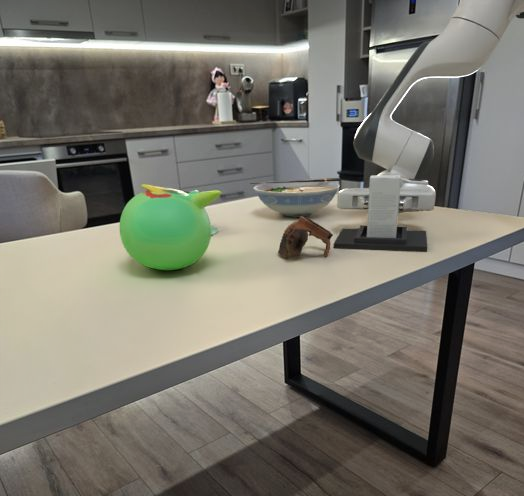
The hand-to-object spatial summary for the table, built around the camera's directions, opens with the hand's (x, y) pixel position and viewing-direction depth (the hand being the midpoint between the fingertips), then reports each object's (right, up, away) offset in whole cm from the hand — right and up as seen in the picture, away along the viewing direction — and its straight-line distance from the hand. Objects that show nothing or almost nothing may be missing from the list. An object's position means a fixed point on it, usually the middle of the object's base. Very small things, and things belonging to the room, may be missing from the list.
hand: (383, 205), depth 97 cm
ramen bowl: (-15, +7, +33) cm, 37 cm away
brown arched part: (-17, -11, -4) cm, 21 cm away
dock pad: (+1, -6, +4) cm, 8 cm away
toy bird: (-41, -14, -8) cm, 44 cm away
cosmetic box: (0, -6, +4) cm, 7 cm away
